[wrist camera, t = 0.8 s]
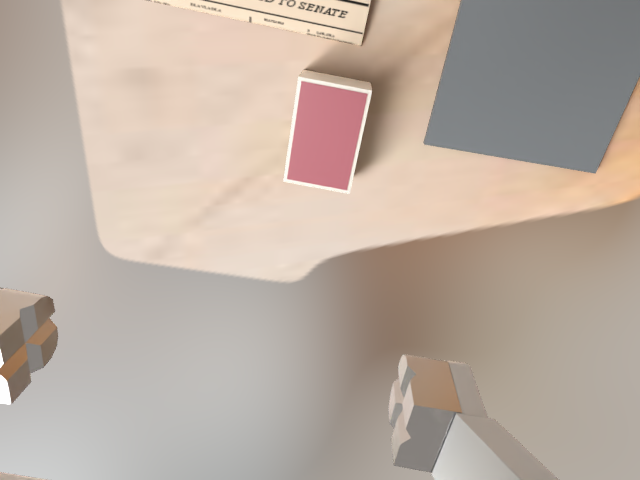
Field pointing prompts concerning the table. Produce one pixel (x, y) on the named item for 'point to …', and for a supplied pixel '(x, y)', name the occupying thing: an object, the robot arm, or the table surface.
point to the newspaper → (291, 15)
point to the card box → (326, 130)
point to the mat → (537, 79)
